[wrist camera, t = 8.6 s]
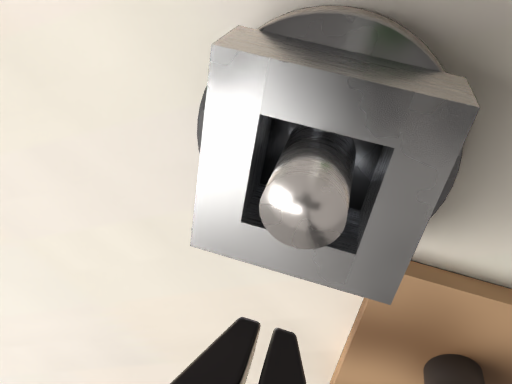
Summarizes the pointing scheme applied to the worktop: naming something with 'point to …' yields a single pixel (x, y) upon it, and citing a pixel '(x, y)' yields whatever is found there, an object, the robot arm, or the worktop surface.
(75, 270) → the worktop surface
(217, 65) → the collar
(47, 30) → the worktop surface
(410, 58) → the hub
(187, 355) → the worktop surface
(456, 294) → the stand
